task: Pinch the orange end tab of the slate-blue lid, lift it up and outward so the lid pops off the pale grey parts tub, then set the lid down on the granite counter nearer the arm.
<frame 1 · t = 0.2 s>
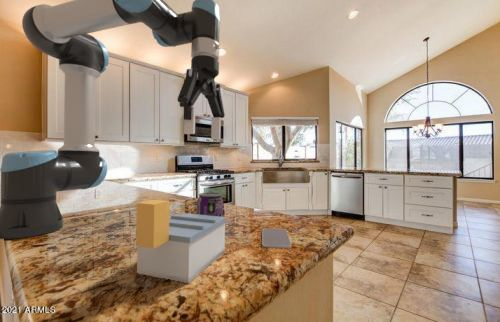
hand: (203, 136, 64), 28 cm above the countertop, fingers open, 13 cm apart
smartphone: (275, 239, 65), on the countertop
lid: (186, 234, 49), point 5 cm above the countertop, touching tub
tub: (185, 261, 49), on the countertop
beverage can: (209, 238, 64), on the countertop
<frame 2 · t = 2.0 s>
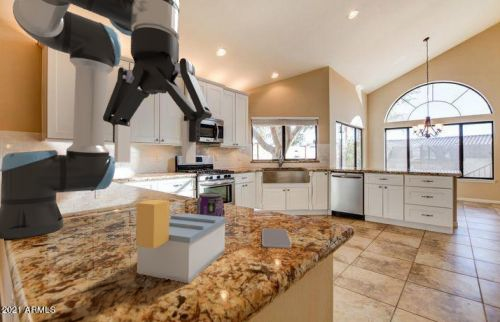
hand: (153, 163, 39), 21 cm above the countertop, fingers open, 13 cm apart
nothing on the countertop moved.
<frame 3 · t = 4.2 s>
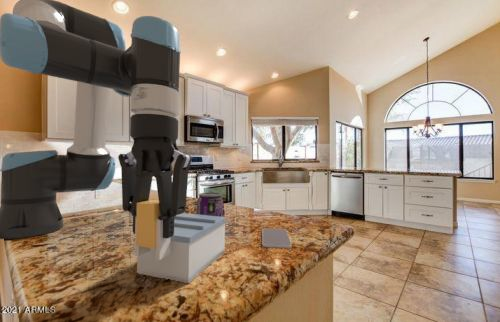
hand: (152, 254, 39), 5 cm above the countertop, fingers closed on lid, 3 cm apart
lid: (186, 234, 49), point 6 cm above the countertop, touching gripper, tub
everything else where it was.
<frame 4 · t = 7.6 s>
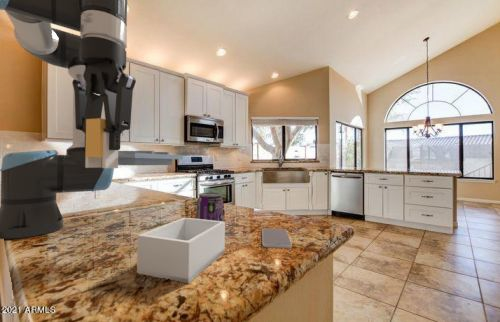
hand: (101, 167, 44), 20 cm above the countertop, fingers closed on lid, 3 cm apart
lid: (141, 164, 53), point 20 cm above the countertop, touching gripper
everything else where it was.
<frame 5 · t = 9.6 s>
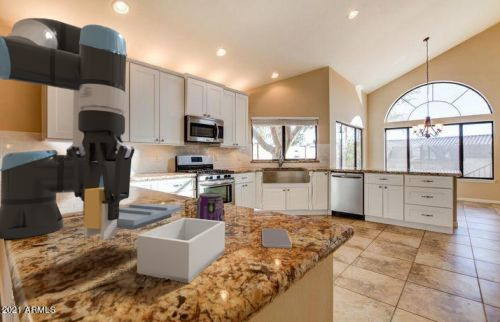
hand: (100, 235, 44), 7 cm above the countertop, fingers closed on lid, 3 cm apart
lid: (140, 221, 53), point 7 cm above the countertop, touching gripper
everything else where it was.
when the fingers open (2 cm above the countertop, at t = 11.3 s): lid drops 2 cm, on the countertop.
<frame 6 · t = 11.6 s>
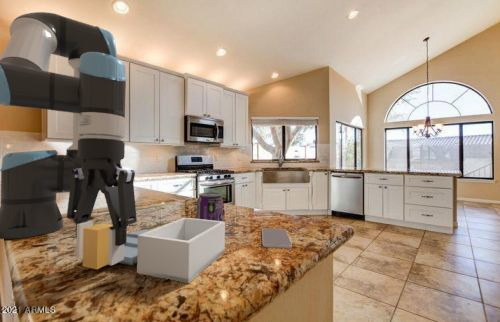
hand: (100, 258, 44), 2 cm above the countertop, fingers open, 7 cm apart
lid: (138, 252, 53), on the countertop
everything else where it was.
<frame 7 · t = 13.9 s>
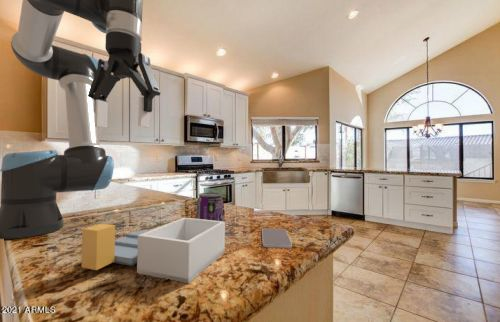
hand: (121, 126, 56), 29 cm above the countertop, fingers open, 13 cm apart
nothing on the countertop moved.
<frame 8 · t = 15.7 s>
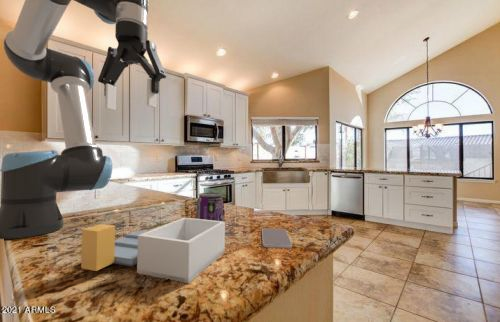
hand: (130, 108, 61), 35 cm above the countertop, fingers open, 13 cm apart
nothing on the countertop moved.
at the end: lid touching countertop; lid on the countertop; lid moved 14.1 cm from its start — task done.
